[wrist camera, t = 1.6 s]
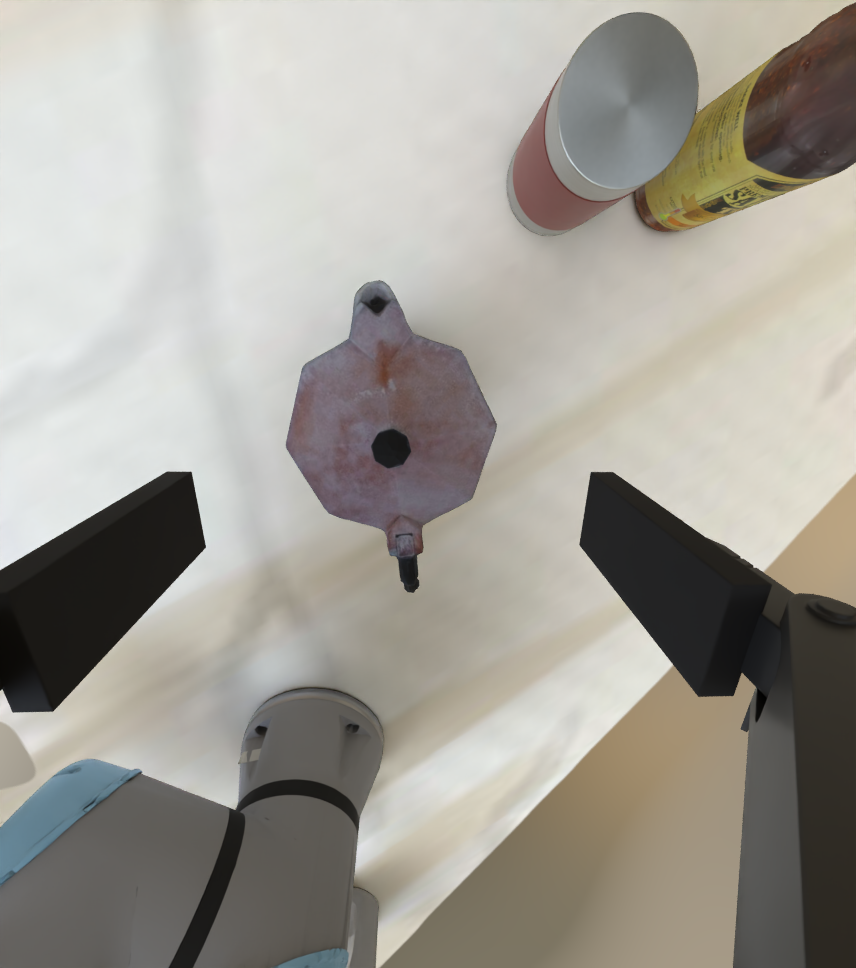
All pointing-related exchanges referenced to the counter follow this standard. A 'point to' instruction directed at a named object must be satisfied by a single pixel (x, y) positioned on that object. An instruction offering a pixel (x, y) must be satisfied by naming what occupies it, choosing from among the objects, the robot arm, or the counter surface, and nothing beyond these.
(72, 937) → the robot arm
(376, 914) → the coffee mug
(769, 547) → the counter surface
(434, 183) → the counter surface
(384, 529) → the moka pot
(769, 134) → the sauce bottle
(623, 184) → the tin can
